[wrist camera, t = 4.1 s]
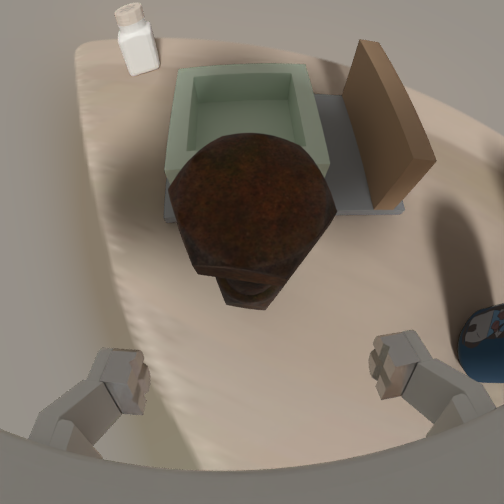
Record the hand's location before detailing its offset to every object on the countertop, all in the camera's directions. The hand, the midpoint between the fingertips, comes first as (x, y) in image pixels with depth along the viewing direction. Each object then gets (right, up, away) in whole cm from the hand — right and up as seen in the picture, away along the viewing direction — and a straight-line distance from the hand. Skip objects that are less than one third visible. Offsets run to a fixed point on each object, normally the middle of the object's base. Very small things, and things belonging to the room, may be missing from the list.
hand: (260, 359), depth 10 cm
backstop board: (+3, +13, +18) cm, 22 cm away
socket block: (-1, +13, +17) cm, 22 cm away
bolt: (0, +1, +14) cm, 14 cm away
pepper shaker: (-14, +27, +23) cm, 38 cm away
